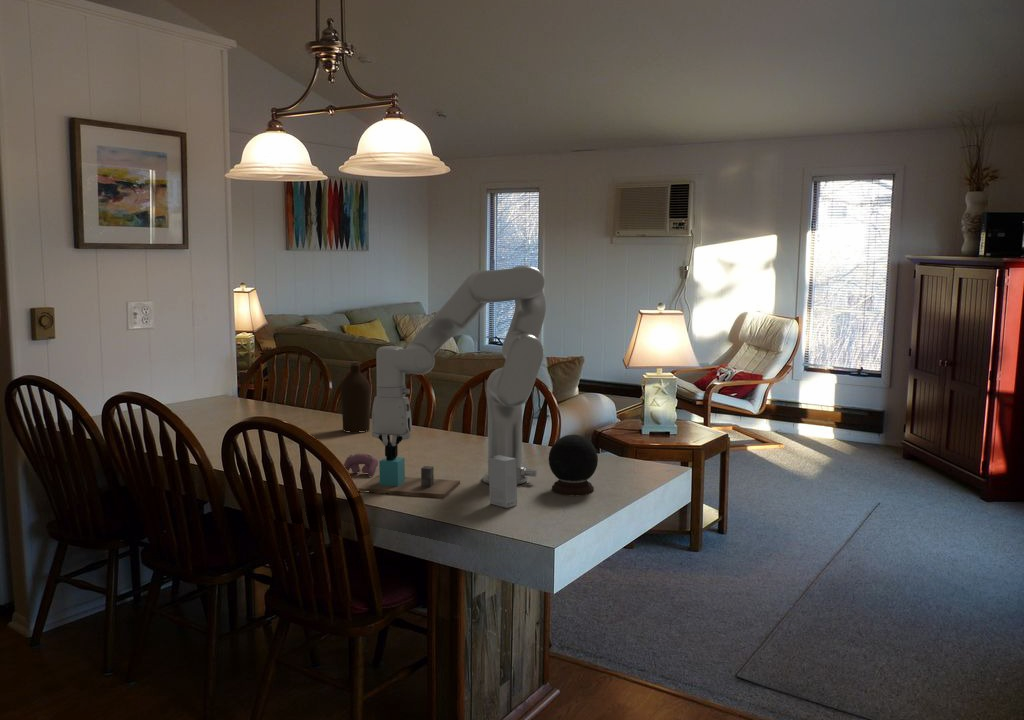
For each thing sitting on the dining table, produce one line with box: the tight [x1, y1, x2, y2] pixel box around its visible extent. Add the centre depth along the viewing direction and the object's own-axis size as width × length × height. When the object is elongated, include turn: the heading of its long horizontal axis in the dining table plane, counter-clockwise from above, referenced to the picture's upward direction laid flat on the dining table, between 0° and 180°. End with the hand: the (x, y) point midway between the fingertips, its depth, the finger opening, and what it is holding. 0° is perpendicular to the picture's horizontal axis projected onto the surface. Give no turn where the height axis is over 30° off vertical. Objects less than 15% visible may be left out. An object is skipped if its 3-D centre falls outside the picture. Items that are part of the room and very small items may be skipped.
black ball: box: [548, 434, 599, 497], centre depth 225 cm, size 13×13×15 cm
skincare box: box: [488, 455, 518, 509], centre depth 211 cm, size 6×4×12 cm
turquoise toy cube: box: [378, 456, 406, 486], centre depth 227 cm, size 5×5×7 cm
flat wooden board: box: [357, 465, 461, 499], centre depth 227 cm, size 24×14×6 cm, turn 77°
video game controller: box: [343, 453, 379, 477], centre depth 241 cm, size 10×5×7 cm, turn 75°
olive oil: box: [340, 360, 372, 432], centre depth 301 cm, size 11×11×25 cm
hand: (391, 459), depth 227 cm, fingers closed
